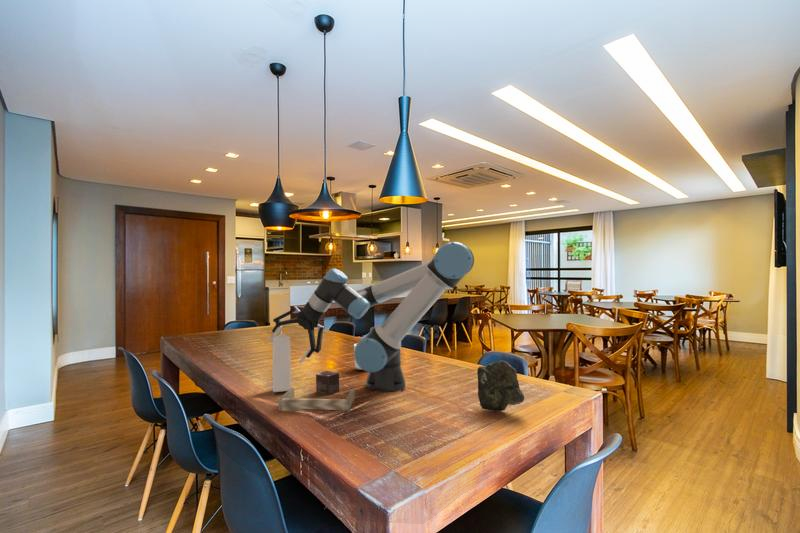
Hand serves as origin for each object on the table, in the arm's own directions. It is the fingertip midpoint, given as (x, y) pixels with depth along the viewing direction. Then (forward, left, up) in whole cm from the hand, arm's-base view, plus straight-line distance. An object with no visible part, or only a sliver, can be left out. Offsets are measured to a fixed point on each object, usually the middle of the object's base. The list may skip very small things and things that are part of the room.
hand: (285, 351), depth 143 cm
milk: (0, +5, -13) cm, 14 cm away
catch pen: (-17, +15, -14) cm, 27 cm away
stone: (-76, +16, -15) cm, 79 cm away
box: (-17, +3, -15) cm, 22 cm away
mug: (-25, -32, -15) cm, 44 cm away
